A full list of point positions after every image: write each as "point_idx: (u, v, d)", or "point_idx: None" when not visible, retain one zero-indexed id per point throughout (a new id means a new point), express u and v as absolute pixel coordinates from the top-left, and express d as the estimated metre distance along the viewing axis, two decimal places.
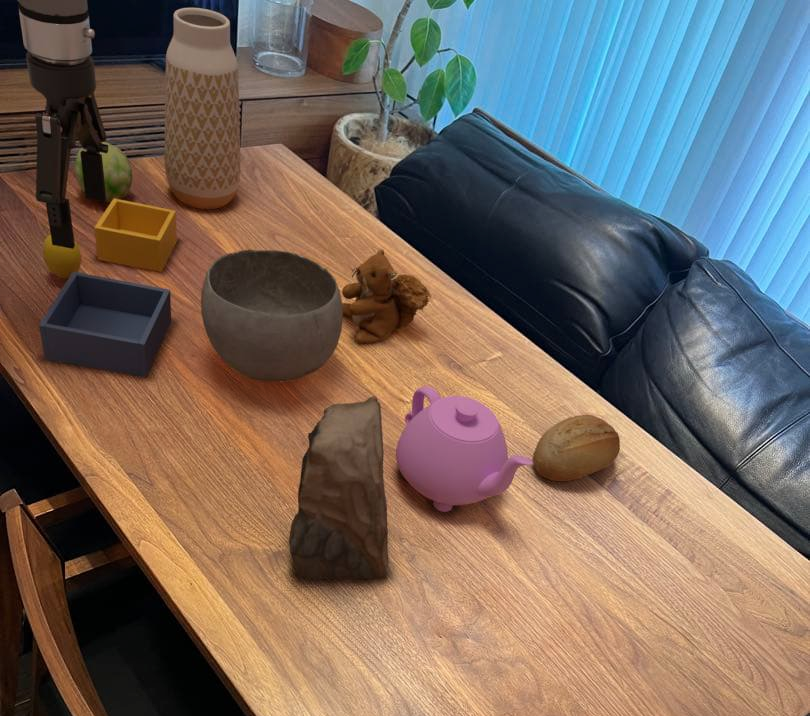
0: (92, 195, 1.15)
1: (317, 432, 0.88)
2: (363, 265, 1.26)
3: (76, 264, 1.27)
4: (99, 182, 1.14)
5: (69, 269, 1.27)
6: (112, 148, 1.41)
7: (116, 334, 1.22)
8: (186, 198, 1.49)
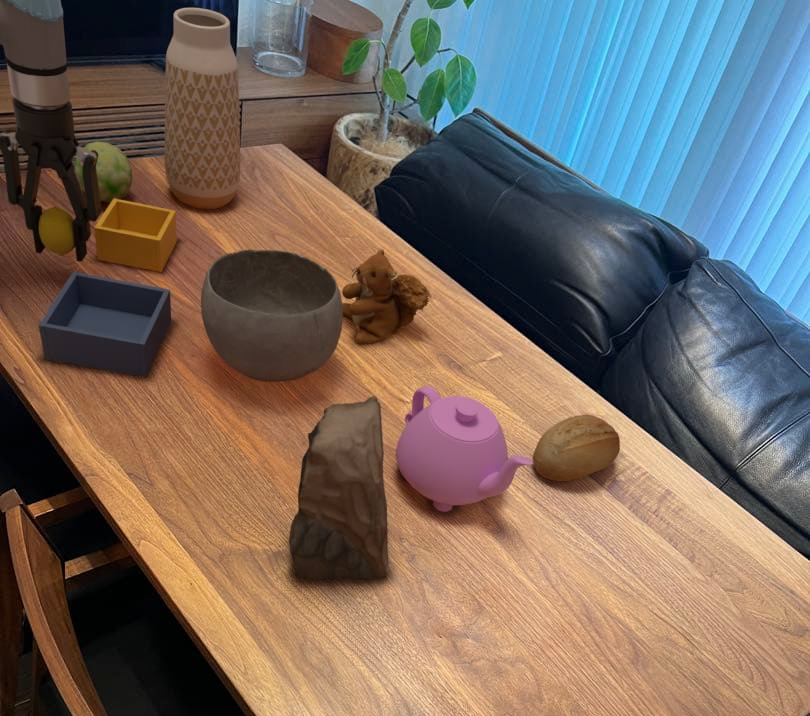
0: (42, 246, 1.26)
1: (317, 432, 0.88)
2: (363, 265, 1.26)
3: (72, 241, 1.24)
4: None
5: (65, 246, 1.24)
6: (112, 148, 1.41)
7: (116, 334, 1.22)
8: (186, 198, 1.49)
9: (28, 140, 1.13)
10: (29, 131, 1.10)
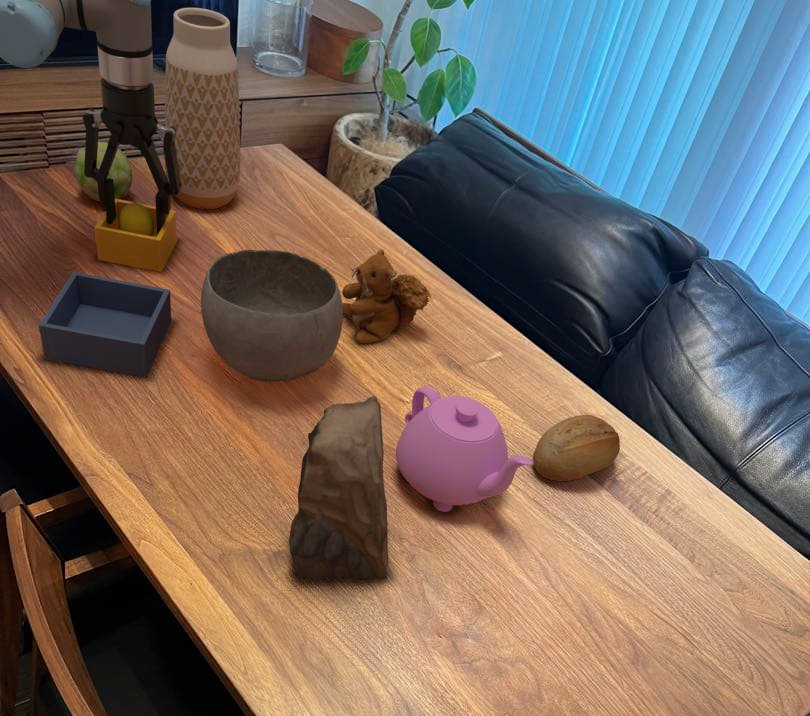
0: (113, 217, 1.35)
1: (317, 432, 0.88)
2: (363, 265, 1.26)
3: (150, 233, 1.35)
4: (114, 202, 1.34)
5: None
6: None
7: (116, 334, 1.22)
8: (186, 198, 1.49)
9: (112, 119, 1.22)
10: (116, 110, 1.19)
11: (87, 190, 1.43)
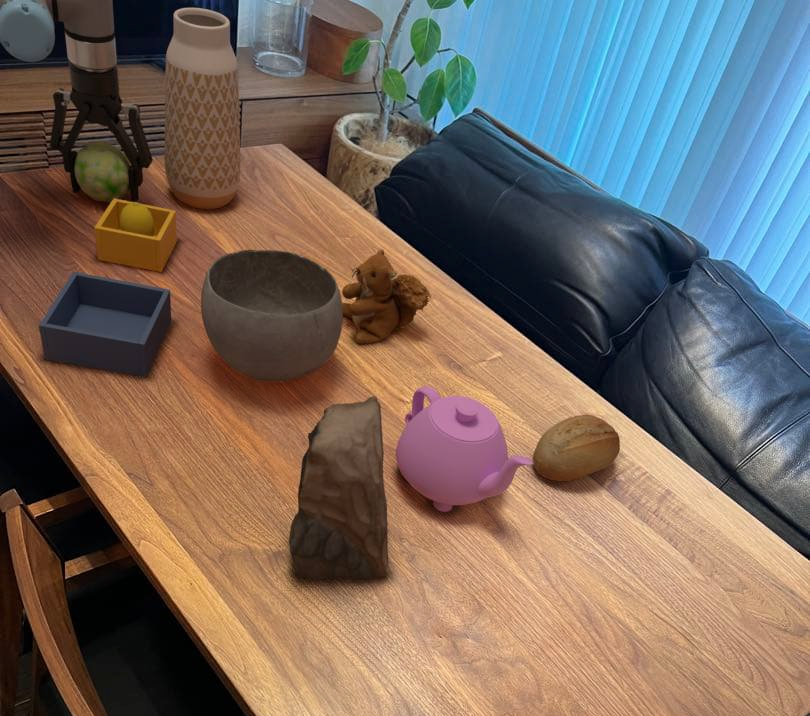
0: (78, 187, 1.47)
1: (317, 432, 0.88)
2: (363, 265, 1.26)
3: (150, 234, 1.35)
4: None
5: None
6: (112, 148, 1.41)
7: (116, 334, 1.22)
8: (186, 198, 1.49)
9: (81, 99, 1.34)
10: (83, 91, 1.31)
11: (87, 190, 1.43)
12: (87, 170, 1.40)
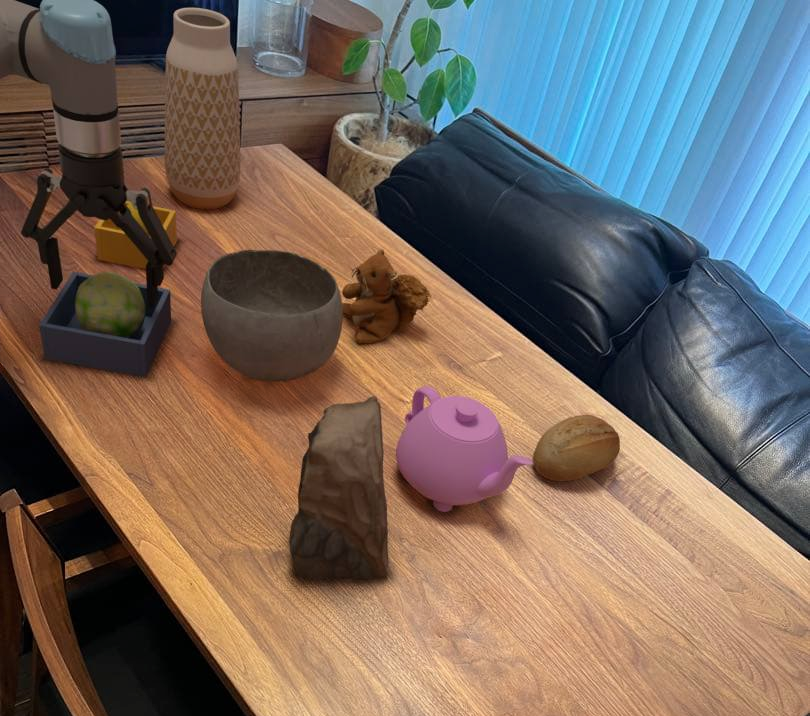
0: (58, 281, 1.15)
1: (317, 432, 0.88)
2: (363, 265, 1.26)
3: None
4: (59, 264, 1.14)
5: None
6: (121, 281, 1.15)
7: None
8: (186, 198, 1.49)
9: (74, 189, 1.04)
10: (76, 180, 1.00)
11: None
12: (91, 311, 1.13)
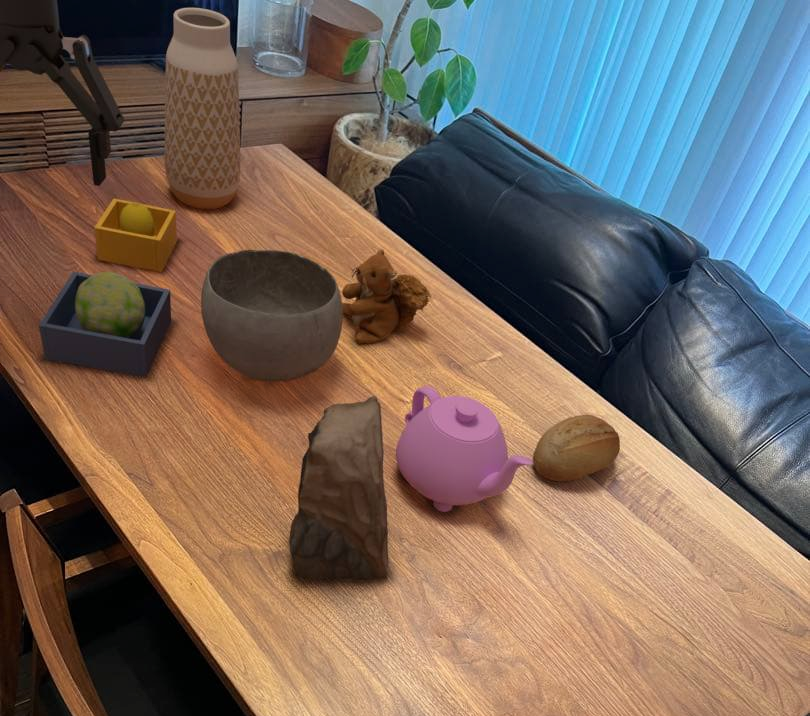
0: None
1: (317, 432, 0.88)
2: (363, 265, 1.26)
3: (150, 234, 1.35)
4: None
5: None
6: (121, 281, 1.15)
7: None
8: (186, 198, 1.49)
9: (2, 34, 0.91)
10: (2, 18, 0.87)
11: None
12: (91, 311, 1.13)
